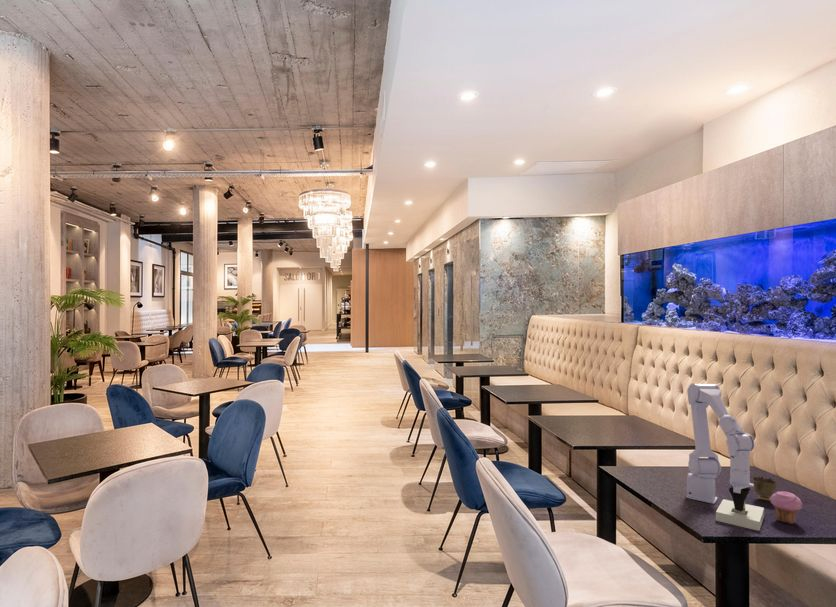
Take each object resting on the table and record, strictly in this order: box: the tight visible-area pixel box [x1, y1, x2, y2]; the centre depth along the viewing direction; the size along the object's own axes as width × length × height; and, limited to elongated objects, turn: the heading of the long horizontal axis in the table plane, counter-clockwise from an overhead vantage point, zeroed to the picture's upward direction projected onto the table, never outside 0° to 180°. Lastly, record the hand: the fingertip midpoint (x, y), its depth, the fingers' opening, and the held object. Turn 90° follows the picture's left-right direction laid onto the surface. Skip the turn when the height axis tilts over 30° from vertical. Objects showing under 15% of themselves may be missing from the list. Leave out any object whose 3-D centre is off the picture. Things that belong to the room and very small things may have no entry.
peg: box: [735, 502, 746, 515], centre depth 174 cm, size 3×3×8 cm
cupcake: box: [770, 491, 803, 525], centre depth 175 cm, size 9×9×10 cm
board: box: [715, 498, 765, 531], centre depth 176 cm, size 12×16×3 cm
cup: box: [752, 475, 777, 502], centre depth 195 cm, size 8×7×8 cm
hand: (739, 508), depth 174 cm, fingers closed on peg, 3 cm apart
